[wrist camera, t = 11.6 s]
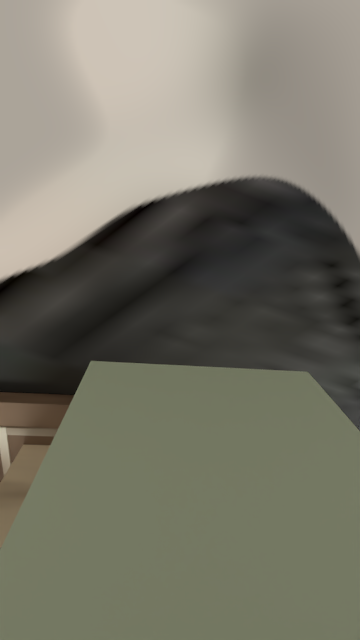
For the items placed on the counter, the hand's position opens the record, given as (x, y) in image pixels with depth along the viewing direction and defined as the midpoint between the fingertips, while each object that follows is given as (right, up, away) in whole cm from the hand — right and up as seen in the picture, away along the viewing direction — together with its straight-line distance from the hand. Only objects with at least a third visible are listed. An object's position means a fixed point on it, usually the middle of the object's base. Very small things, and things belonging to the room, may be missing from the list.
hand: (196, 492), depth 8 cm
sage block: (0, +1, +1) cm, 1 cm away
